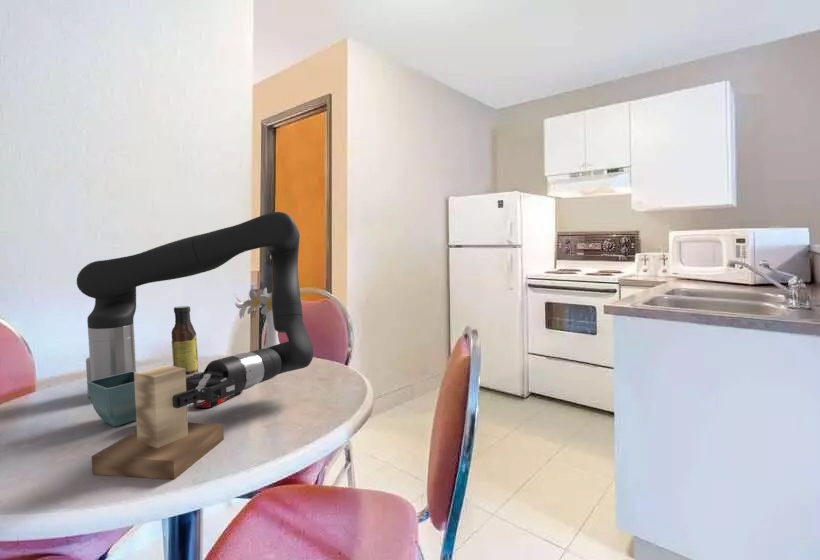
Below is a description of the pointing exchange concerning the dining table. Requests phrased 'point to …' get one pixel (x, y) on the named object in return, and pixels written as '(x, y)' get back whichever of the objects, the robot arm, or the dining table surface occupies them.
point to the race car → (213, 404)
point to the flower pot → (114, 398)
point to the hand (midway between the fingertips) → (158, 398)
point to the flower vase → (267, 310)
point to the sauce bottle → (184, 341)
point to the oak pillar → (160, 405)
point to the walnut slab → (157, 454)
